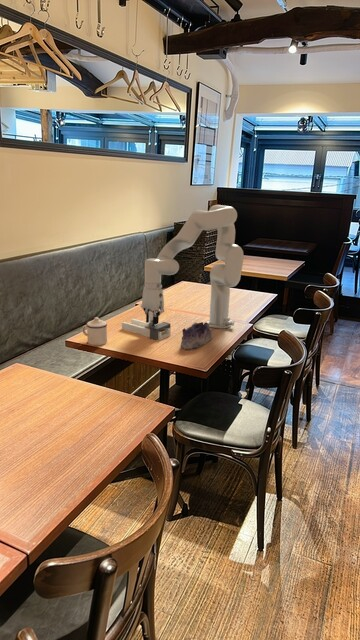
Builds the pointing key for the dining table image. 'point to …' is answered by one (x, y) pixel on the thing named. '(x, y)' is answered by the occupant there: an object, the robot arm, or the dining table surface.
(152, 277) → the robot arm
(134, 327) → the track
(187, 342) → the geode
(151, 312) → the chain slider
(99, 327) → the teacup with lid
